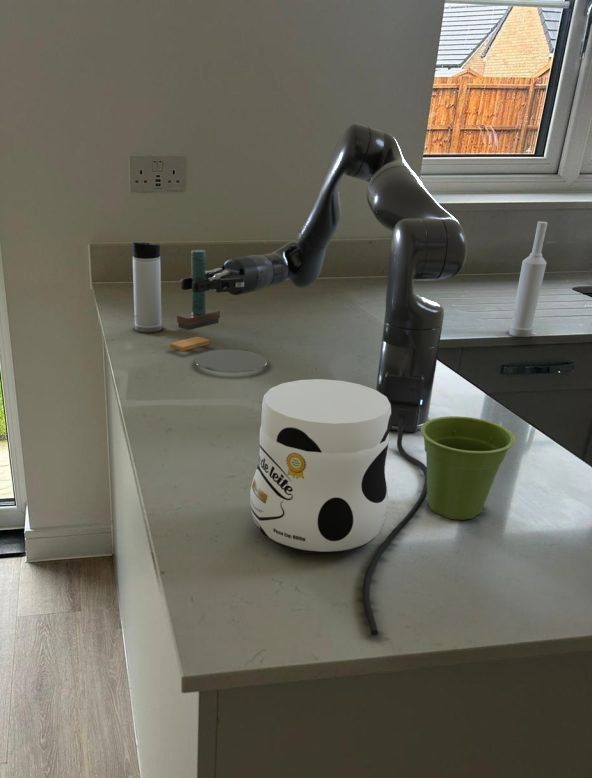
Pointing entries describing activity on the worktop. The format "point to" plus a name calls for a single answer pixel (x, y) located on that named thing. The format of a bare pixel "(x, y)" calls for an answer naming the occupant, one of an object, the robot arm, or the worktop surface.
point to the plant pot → (462, 463)
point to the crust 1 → (182, 345)
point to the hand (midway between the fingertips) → (188, 285)
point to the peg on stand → (198, 299)
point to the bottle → (529, 287)
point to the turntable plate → (230, 360)
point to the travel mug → (147, 287)
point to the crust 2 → (199, 341)
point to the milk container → (321, 465)
